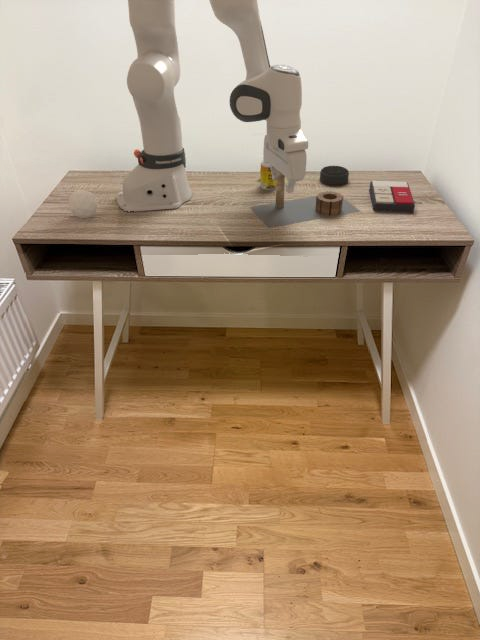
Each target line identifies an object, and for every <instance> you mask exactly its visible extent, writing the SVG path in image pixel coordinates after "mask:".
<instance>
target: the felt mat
mask: <svg viewBox="0 0 480 640" xmlns="http://www.w3.org/2000/svg"><path fill="white" fill-rule="evenodd" d="M316 196H317V195H314V196H308V197H307V196H306V197H303V198H297V199H290V200H284V208H281V209H279V208H276V207H275V205H276V202H272V203H266V204H261V205H255V206H254V205H253V206H250V207H249V208H250V209H251V210H252V211H253V213H254V214H256V216H257V217H258V218H259V219H260V220H261V222H262V223H263V224H264V225H265V226H266V227H267V228H275V227H281V226H287V225H292V224H298V223H299V224H300V223H303V222H308V221H316V220H320V219H321V220H322V219H325V218H331V217H337V216H342V215H347V214H348V215H349V214H354V213H359V212H361V210H360V209H359V208H357V207H356V206H354V205H353V204H352V203H350V201H348V200H347V199H345V198H344V197H343V204H342V211H341V212H340V214H337V215H332V216H331V215H329V216H328V215H322V214H321V213H320V214H319V213H318V212H317V211H316V209H315V208H316Z"/></svg>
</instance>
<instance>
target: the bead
mask: <svg viewBox="0 0 480 640" xmlns="http://www.w3.org/2000/svg"><path fill="white" fill-rule="evenodd" d="M315 196H316V208H315V209H316V211H317V212H318V213H319V214H320V213H321V214H322V215H328V216H329V215H331V216H332V215H337V214H340V212H341V211H342V204H343V198H344V196H343V195H342V194H341V193H340V192H339V193H338V191H337V192H336V191H322V192H319V193H318V194H317V195H315ZM337 216H338V215H337ZM332 217H333V216H332Z"/></svg>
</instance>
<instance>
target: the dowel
mask: <svg viewBox="0 0 480 640" xmlns="http://www.w3.org/2000/svg"><path fill="white" fill-rule="evenodd" d="M285 192H286V177H285V176H284V175H283V174H282V173H280V172H279V171H278V172H277V173H276V189H275V203H276V205H275V207H276V208H279V209H281V208H284V201H285Z"/></svg>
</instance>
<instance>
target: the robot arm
mask: <svg viewBox="0 0 480 640" xmlns="http://www.w3.org/2000/svg"><path fill="white" fill-rule="evenodd" d="M209 3H210V5H211V10H212V11H213V14H214V17H215V18H216V19H217V20H219V22H221V23H222V24H223V25H225V26H227V27H228V28H229V29H231V30H232V31H233V32H234V34H235V36H236V37H237V39H238V42H239V44H240V49H241V54H242V58H243V62H244V67H245V70H246V76H245V80H243V81H241V82H240V83H239V84H238V85H236V86H235V87H234V88H233V90H232V92H231V93H230V96H229V108H230V111H231V113H232V115H233V116H234V117H235V118H236V120H237V119H238V120H239V121H240V122H242V123H243V122H244V123H253V122H261V121H266V134H265V136H264V139H263V153H262V154H263V156H264V159H265V160H266V161H267V162H268V163H269V164H270V168H271V172H272V179H273V180H274V181H276V173H277V172H278V171H279V172H280V173H282V174H283V175H284V176H285V178H286V181H287V184H285V192H287V194H292V193H294V192H295V191H294V190H295V185H296V183H297V182H300V181H303V180H304V178H305V176H306V172H307V171H306V170H307V151H306V150H307V149H308V148H309V141H308V139H307V138H306V136H305V135H304V132H303V129H302V128H301V127H302V121H301V116H300V115H301V113H300V112H301V109H302V103H303V102H302V99H303V97H302V96H303V95H302V93H303V90H302V78H301V75H300V73H299V70H297V69H296V68H294V67H292V66H290V65H286V64H274V65H271V64H270V59H269V55H268V50H267V45H266V40H265V35H264V30H263V26H262V21H261V17H260V10H259V4H258V0H209ZM127 4H128V5H127V7H128V17H129V19H128V20H129V25H130V27H131V30H132V32H133V37H134V40H135V41H134V43H135V45H136V52H137V58H136V59H135V60H133V61H132V62H131V64H130V66H129V69H128V72H127V76H126V85H127V89H128V92H129V93H130V95H131V96H132V100H133V104H134V107H135V110H136V114H137V117H138V120H139V124H140V131H141V138H142V146H143V149H142V150H140V149H135V150H134V151H133V154H134V157H135V158H136V159H137V161H138V162H137V163H138V164H137V165H136V166H135V167H134V168H133V169H132V170H131V171H130V172H128V174H127V175H126V176H125V177H124V179H123V181H122V182H123V184H122V191H120V192H118V193H117V195H116V204H117V203H118V204H117V205H118V207H119V208H120V209H121V210H122V209H123V210H122V211H125V212H126V211H128V212H127V213H131V212H130V211H134V212H144V211H157V210H160V211H161V210H168V209H169V210H170V209H171V210H172V209H173V210H174V209H178V208H180V206H182V204H184V203H186V202H187V201H189V200H190V199H191V198H192V197H193V192H192V190H191V187H190V184H189V181H188V177H187V171H186V167H187V166H186V164H187V163H186V161H187V160H186V152H185V148H184V147H183V146H184V145H183V137H182V126H181V125H182V124H181V117H180V116H179V113H178V108H177V104H176V101H175V100H176V99H175V98H176V97H175V93H174V91H175V87H176V85H177V84H178V83H179V81H180V77H181V65H180V54H179V53H180V52H179V44H178V37H177V29H176V18H175V17H176V16H175V15H176V14H175V0H127Z"/></svg>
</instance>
